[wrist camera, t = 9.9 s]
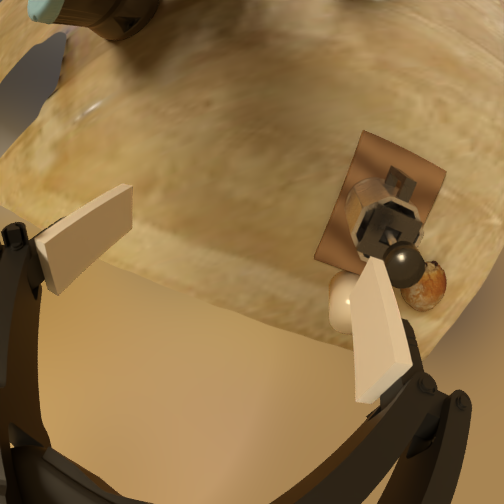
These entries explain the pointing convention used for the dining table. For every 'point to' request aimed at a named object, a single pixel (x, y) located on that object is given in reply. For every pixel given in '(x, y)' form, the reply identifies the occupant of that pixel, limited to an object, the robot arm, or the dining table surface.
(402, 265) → the plunger
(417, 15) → the dining table surface
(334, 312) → the cream egg shape
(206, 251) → the dining table surface
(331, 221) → the board
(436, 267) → the bread roll
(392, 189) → the grey faceted handled container
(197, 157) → the dining table surface
